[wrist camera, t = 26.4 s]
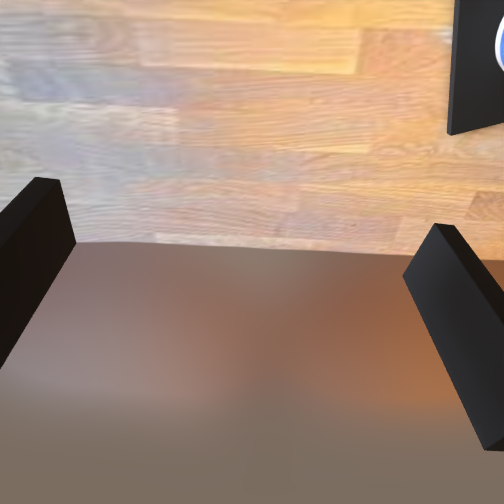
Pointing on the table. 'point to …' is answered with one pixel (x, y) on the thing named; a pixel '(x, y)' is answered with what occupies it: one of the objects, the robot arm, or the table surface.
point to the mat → (475, 67)
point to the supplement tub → (500, 45)
